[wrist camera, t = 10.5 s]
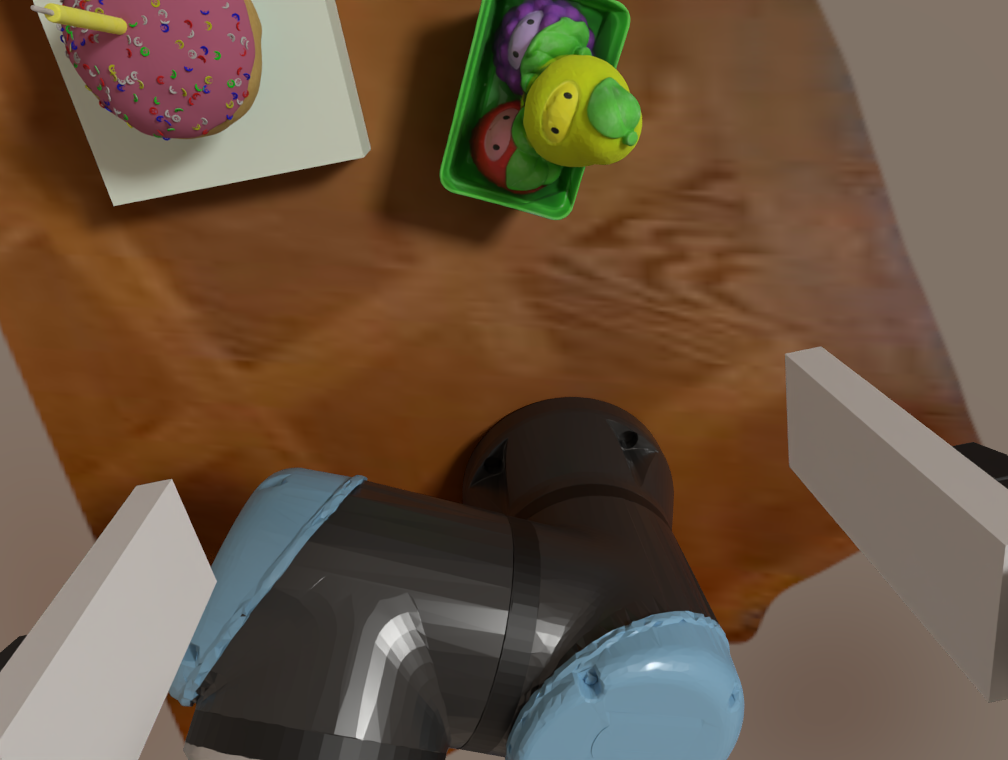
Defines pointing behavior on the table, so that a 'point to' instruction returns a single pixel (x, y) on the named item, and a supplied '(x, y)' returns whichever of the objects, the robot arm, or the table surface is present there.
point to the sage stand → (254, 137)
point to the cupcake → (165, 60)
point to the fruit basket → (540, 103)
